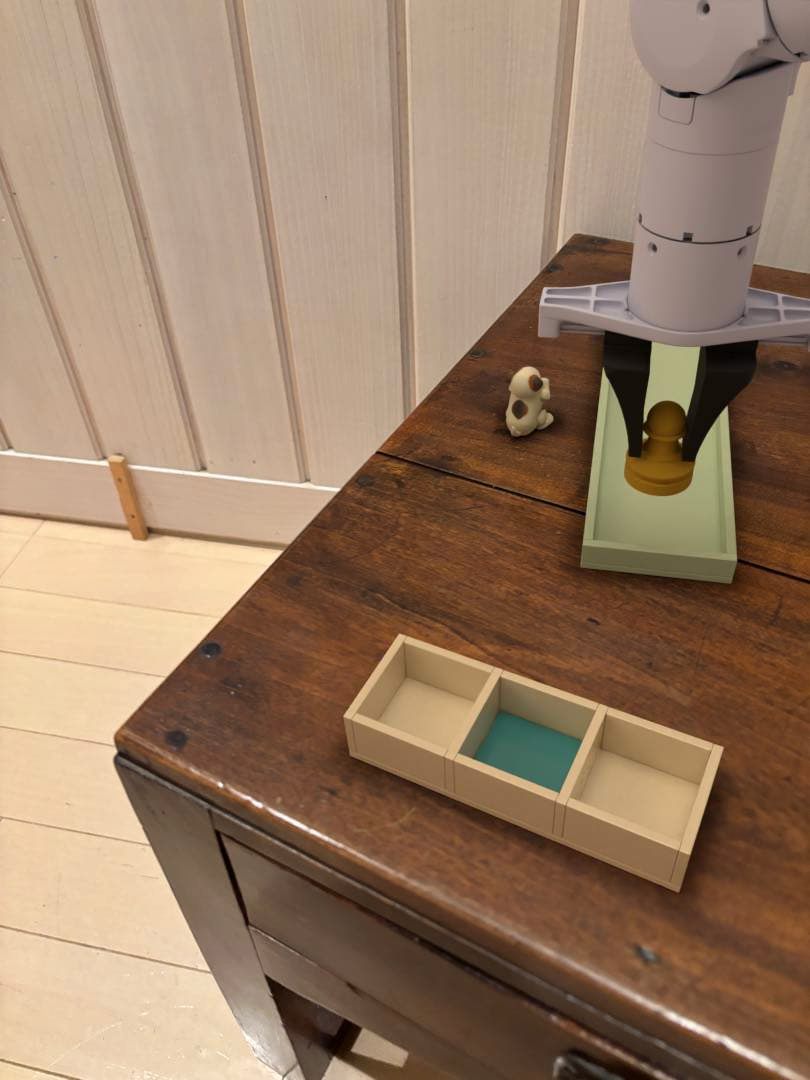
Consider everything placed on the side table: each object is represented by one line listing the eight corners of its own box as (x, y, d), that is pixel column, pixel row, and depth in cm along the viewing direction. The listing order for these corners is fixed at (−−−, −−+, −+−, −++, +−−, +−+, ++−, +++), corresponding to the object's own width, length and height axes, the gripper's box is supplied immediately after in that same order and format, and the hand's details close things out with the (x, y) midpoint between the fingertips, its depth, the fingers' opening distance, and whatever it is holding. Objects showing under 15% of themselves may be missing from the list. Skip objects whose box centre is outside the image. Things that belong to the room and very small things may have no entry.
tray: (731, 584, 57) (737, 560, 55) (580, 568, 59) (582, 544, 57) (716, 311, 81) (720, 290, 80) (610, 306, 83) (612, 285, 82)
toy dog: (558, 417, 71) (562, 360, 67) (523, 448, 68) (525, 391, 65) (521, 402, 72) (522, 346, 69) (485, 432, 70) (485, 376, 66)
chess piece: (706, 477, 54) (721, 405, 50) (659, 505, 52) (671, 433, 49) (655, 446, 56) (666, 376, 53) (609, 472, 54) (617, 401, 51)
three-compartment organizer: (712, 787, 46) (724, 746, 44) (679, 893, 42) (690, 855, 40) (403, 673, 53) (399, 632, 51) (349, 756, 49) (342, 716, 47)
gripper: (851, 189, 45) (790, 418, 54) (553, 181, 48) (542, 400, 57) (872, 253, 40) (801, 494, 49) (537, 240, 43) (528, 470, 52)
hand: (661, 449), depth 53 cm, fingers closed on chess piece, 2 cm apart
